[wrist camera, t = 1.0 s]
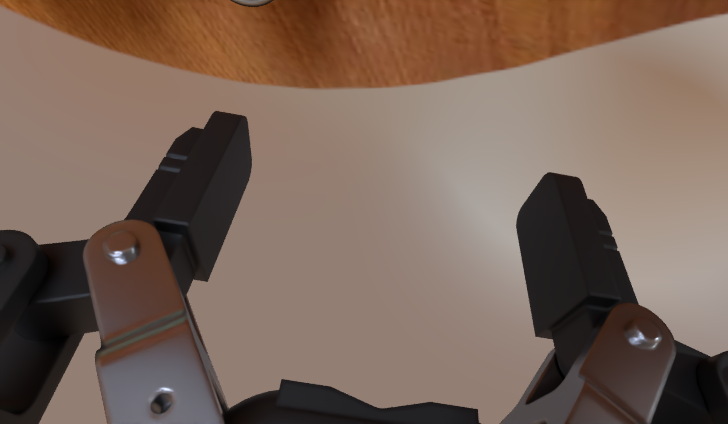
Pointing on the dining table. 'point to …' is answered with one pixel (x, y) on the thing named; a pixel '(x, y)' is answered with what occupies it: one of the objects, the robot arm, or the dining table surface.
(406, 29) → the dining table surface
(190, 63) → the dining table surface
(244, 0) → the mate gourd
